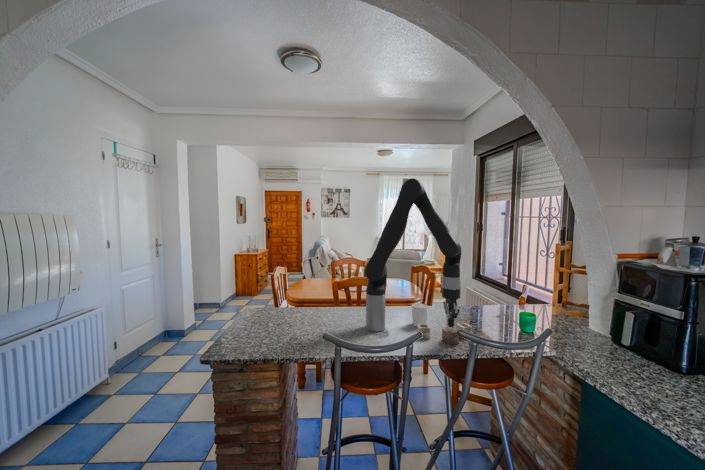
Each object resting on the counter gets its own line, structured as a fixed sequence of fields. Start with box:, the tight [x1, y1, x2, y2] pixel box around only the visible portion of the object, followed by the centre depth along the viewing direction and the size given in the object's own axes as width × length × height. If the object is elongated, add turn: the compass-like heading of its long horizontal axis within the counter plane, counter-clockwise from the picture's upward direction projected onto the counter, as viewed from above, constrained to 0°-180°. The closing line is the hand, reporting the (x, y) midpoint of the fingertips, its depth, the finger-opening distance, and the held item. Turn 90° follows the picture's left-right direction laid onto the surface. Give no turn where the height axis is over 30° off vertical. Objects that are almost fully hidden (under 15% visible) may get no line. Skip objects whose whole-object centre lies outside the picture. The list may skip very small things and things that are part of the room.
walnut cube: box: [441, 327, 460, 345], centre depth 121 cm, size 5×5×5 cm
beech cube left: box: [416, 323, 431, 340], centre depth 127 cm, size 5×5×5 cm
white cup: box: [411, 302, 429, 328], centre depth 142 cm, size 8×8×10 cm
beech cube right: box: [455, 322, 474, 334], centre depth 128 cm, size 5×5×5 cm
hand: (450, 326), depth 121 cm, fingers closed
